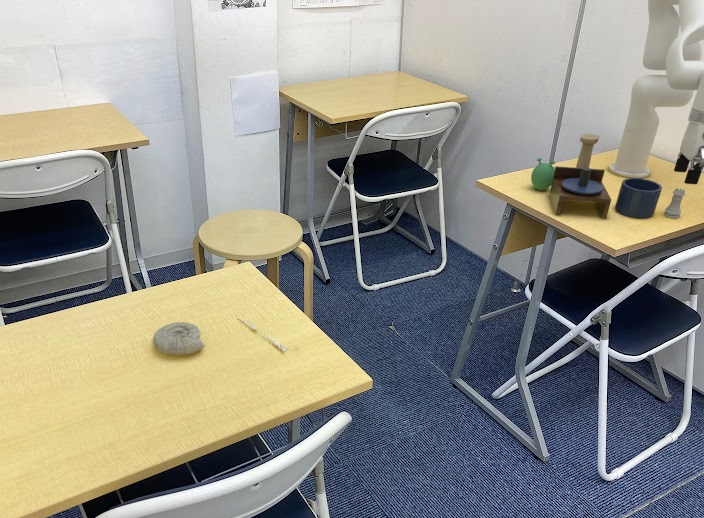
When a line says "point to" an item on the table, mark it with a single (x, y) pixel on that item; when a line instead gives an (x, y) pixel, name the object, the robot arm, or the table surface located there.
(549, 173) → the alien toy
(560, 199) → the shelf
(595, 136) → the handle
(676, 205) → the rook chess piece
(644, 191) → the pot
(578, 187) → the lid
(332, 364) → the table surface
